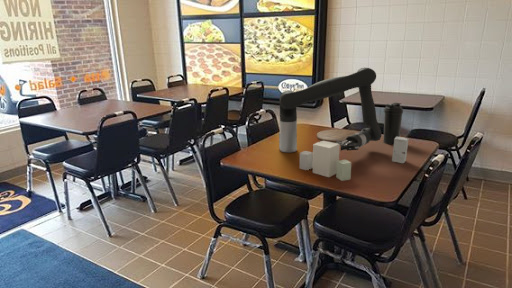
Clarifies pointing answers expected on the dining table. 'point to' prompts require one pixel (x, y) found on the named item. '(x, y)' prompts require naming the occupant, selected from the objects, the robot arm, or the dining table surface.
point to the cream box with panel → (325, 158)
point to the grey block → (306, 160)
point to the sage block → (343, 170)
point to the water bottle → (392, 122)
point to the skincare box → (400, 149)
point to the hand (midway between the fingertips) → (337, 149)
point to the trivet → (334, 135)
